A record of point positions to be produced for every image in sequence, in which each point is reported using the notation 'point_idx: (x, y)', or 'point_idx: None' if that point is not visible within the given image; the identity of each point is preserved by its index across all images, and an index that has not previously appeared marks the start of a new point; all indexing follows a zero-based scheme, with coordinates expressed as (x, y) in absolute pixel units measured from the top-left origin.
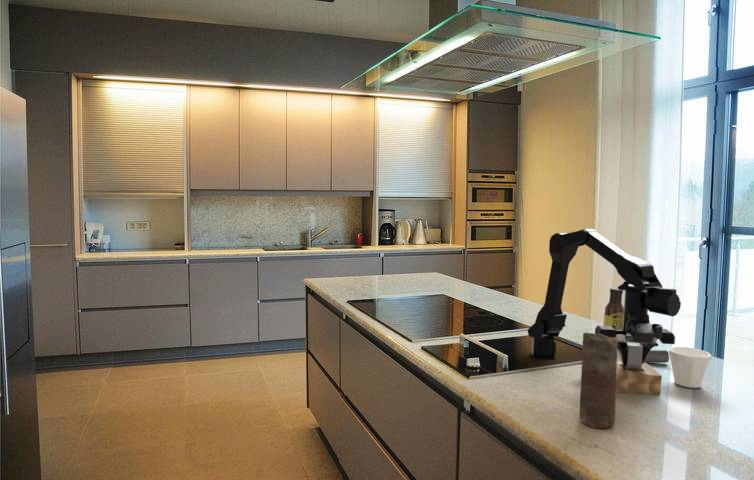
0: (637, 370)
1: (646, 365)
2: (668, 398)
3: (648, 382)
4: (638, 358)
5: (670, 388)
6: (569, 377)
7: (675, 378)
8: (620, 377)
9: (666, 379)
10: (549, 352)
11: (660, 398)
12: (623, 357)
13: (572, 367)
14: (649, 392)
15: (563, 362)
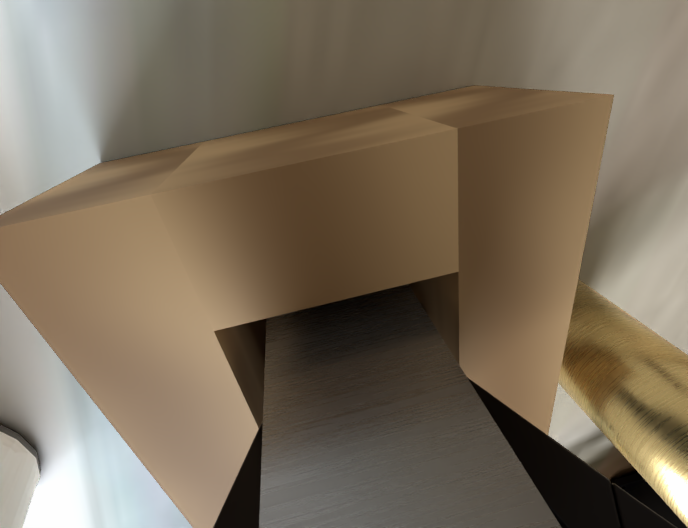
0: (308, 336)
1: (207, 503)
2: (7, 80)
3: (188, 165)
4: (324, 488)
5: (48, 352)
6: (671, 274)
7: (6, 477)
8: (522, 103)
9: (103, 485)
10: (652, 506)
11: (84, 45)
12: (542, 444)
13: (576, 425)
14: (193, 144)
15: (589, 463)
